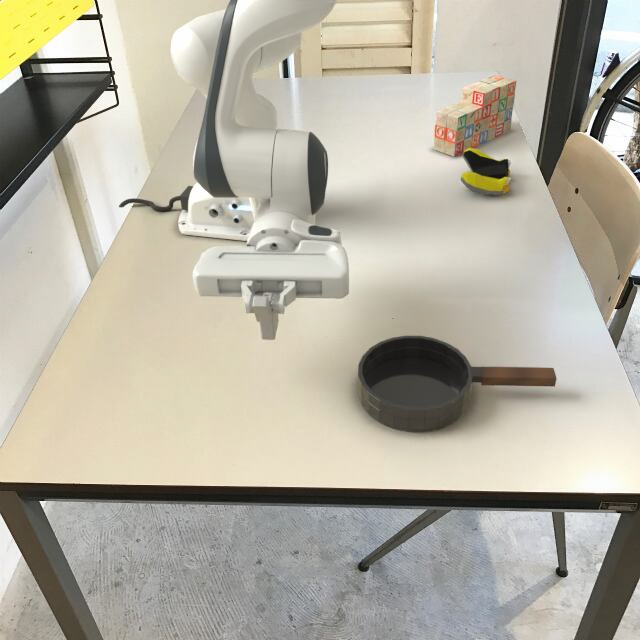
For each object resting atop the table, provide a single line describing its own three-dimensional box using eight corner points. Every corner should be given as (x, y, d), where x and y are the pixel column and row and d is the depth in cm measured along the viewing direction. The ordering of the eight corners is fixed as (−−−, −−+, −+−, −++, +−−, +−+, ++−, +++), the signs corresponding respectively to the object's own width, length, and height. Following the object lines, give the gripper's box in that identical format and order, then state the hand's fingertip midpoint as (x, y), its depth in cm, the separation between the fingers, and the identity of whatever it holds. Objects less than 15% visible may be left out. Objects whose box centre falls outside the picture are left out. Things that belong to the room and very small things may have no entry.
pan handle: (470, 385, 93) (471, 376, 92) (469, 374, 95) (470, 365, 94) (555, 386, 92) (557, 378, 91) (551, 375, 94) (553, 367, 93)
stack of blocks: (454, 157, 157) (458, 103, 150) (433, 150, 161) (436, 97, 154) (510, 130, 168) (517, 79, 161) (489, 124, 172) (494, 74, 165)
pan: (356, 431, 90) (356, 408, 88) (359, 356, 103) (359, 334, 100) (475, 433, 89) (478, 411, 87) (464, 357, 101) (466, 336, 99)
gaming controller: (458, 200, 141) (509, 203, 139) (460, 175, 137) (513, 177, 135) (461, 169, 152) (508, 171, 150) (463, 145, 149) (512, 147, 147)
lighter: (265, 319, 92) (260, 268, 87) (278, 320, 91) (274, 268, 87) (257, 354, 86) (251, 302, 81) (271, 355, 86) (266, 302, 81)
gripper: (201, 228, 95) (176, 286, 84) (351, 230, 93) (346, 289, 82) (207, 267, 99) (184, 327, 88) (351, 269, 97) (347, 331, 86)
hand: (264, 309), depth 85 cm, fingers closed on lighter, 2 cm apart
